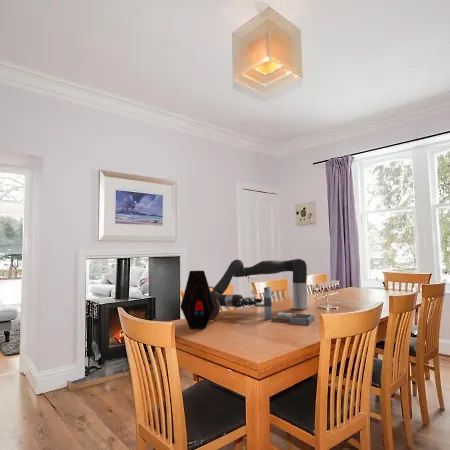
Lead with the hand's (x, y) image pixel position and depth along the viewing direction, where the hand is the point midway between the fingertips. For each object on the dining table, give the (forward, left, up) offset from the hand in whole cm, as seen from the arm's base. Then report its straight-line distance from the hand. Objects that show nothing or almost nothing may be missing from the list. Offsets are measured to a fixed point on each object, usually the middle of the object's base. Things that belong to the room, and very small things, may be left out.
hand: (258, 302), depth 199 cm
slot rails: (-1, +15, -10) cm, 18 cm away
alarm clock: (+19, -24, -10) cm, 32 cm away
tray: (-1, +25, -10) cm, 27 cm away
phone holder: (-45, -16, -10) cm, 49 cm away
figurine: (+33, -21, -10) cm, 40 cm away
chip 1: (-1, +13, -10) cm, 17 cm away
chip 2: (-1, +18, -10) cm, 20 cm away
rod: (-1, +5, -10) cm, 11 cm away
